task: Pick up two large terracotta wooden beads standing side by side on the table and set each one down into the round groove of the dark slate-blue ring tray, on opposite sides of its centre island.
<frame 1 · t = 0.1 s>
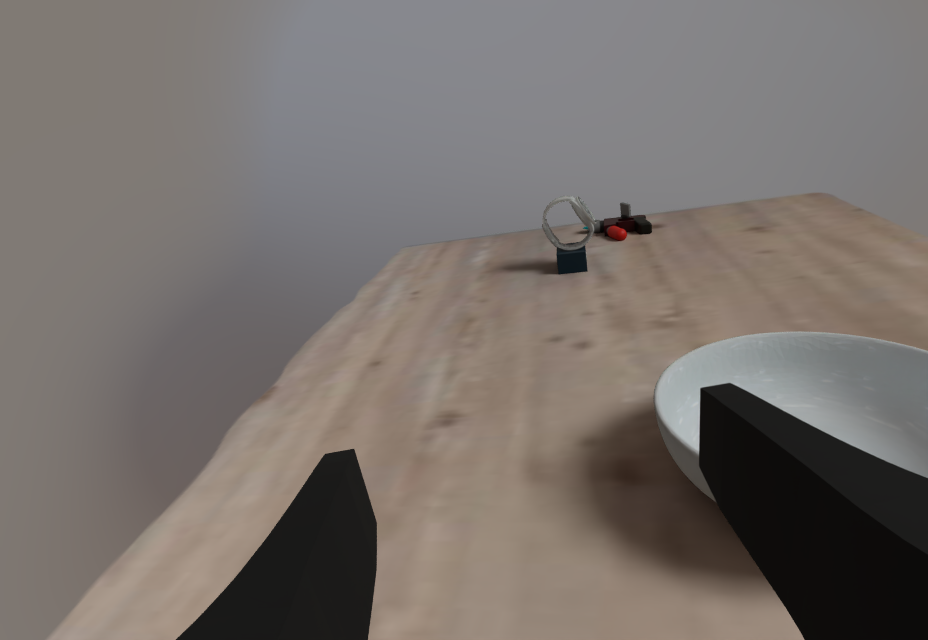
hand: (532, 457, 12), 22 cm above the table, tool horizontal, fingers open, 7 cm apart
toy gun: (616, 237, 105), on the table
serving bowl: (816, 483, 40), on the table
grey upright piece: (573, 268, 92), on the table
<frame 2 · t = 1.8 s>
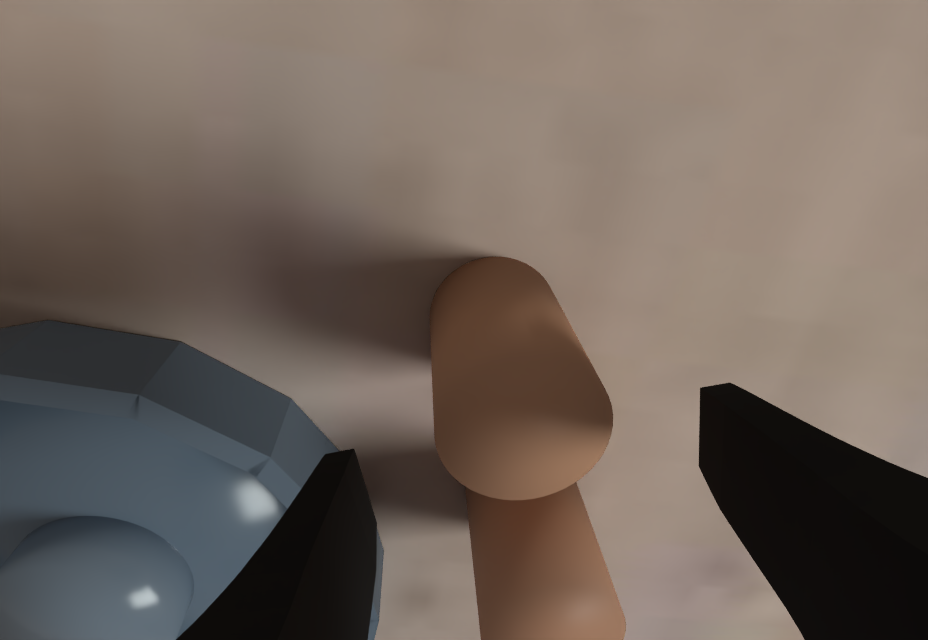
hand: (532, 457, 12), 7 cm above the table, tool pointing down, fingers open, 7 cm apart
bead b: (519, 486, 21), on the table
bead a: (493, 317, 18), on the table
ring tray: (118, 558, 22), on the table
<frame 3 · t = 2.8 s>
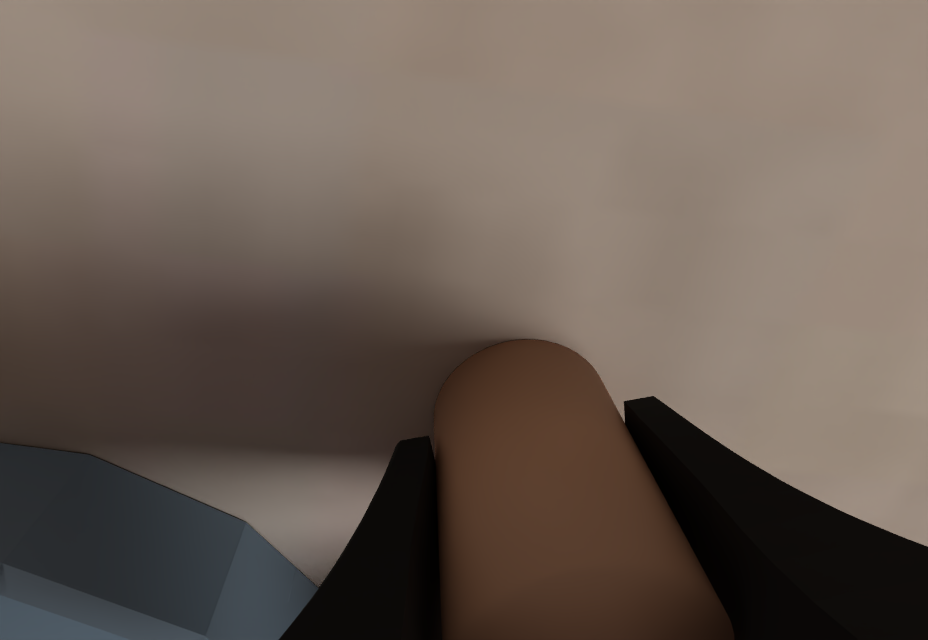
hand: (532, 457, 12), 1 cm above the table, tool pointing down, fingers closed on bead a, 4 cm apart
bead a: (521, 417, 13), on the table, touching gripper
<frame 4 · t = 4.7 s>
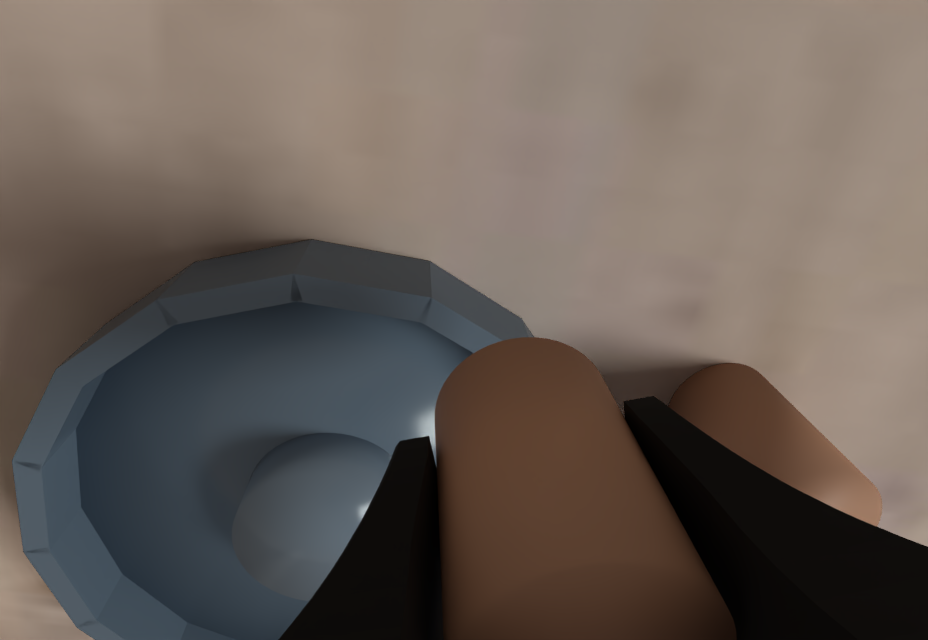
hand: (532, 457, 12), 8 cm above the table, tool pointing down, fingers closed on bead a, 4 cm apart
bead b: (718, 408, 22), on the table
bead a: (522, 414, 13), point 7 cm above the table, touching gripper
ring tray: (334, 480, 23), on the table
when the fingers open (4 cm above the table, at t = 6.4 s): bead a drops 1 cm, resting on ring tray.
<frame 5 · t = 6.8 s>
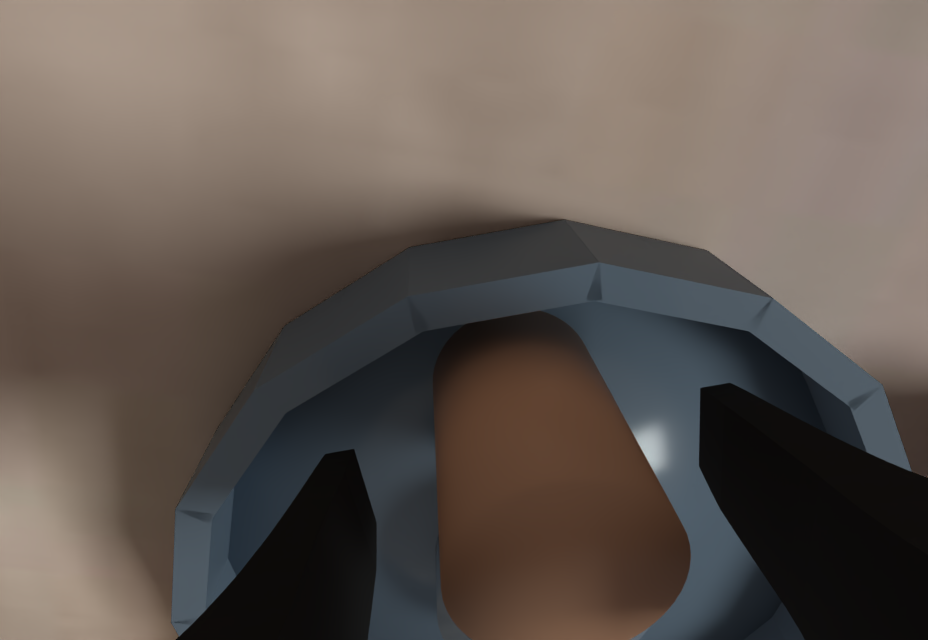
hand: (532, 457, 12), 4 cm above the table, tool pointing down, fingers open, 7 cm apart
bead a: (512, 380, 15), point 1 cm above the table, touching ring tray
ring tray: (530, 523, 18), on the table
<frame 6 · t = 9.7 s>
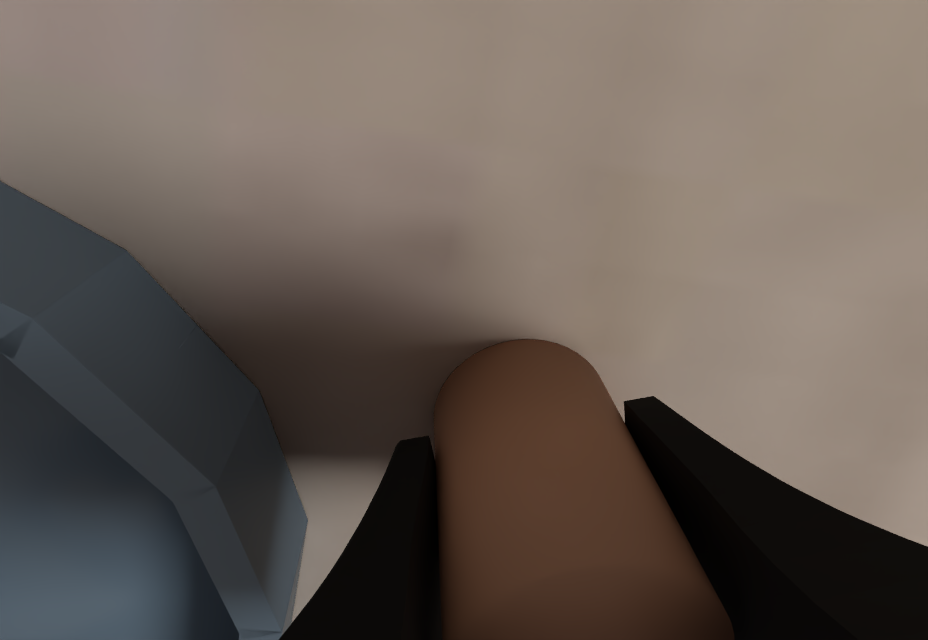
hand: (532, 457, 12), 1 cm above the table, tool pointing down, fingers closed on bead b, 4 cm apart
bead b: (521, 416, 13), on the table, touching gripper
when the fingers open (4 cm above the table, at t = 13.3 s): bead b drops 1 cm, resting on ring tray.
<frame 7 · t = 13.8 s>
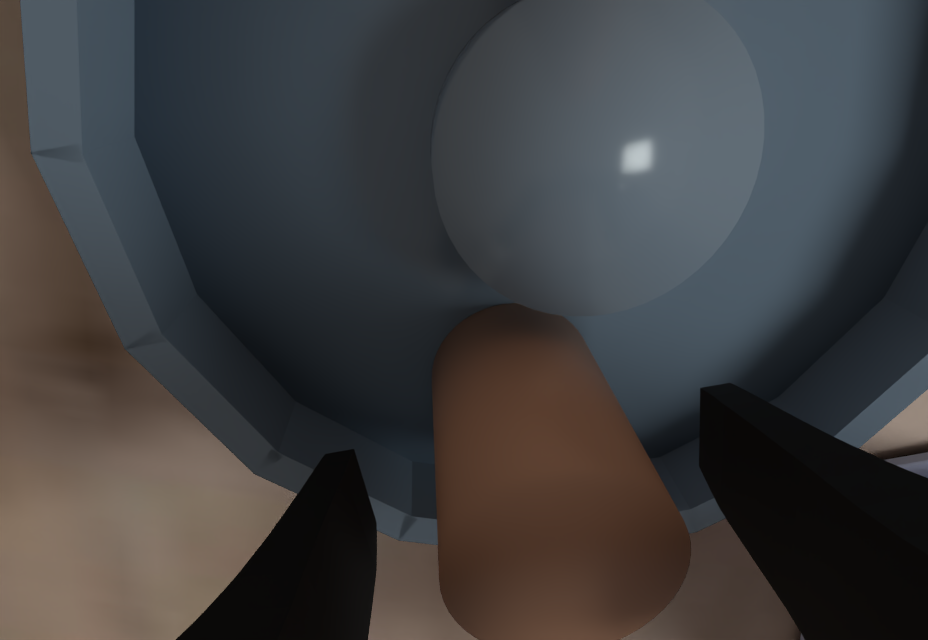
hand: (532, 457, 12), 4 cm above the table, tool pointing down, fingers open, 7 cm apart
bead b: (511, 376, 15), point 1 cm above the table, touching ring tray
ring tray: (562, 140, 13), on the table
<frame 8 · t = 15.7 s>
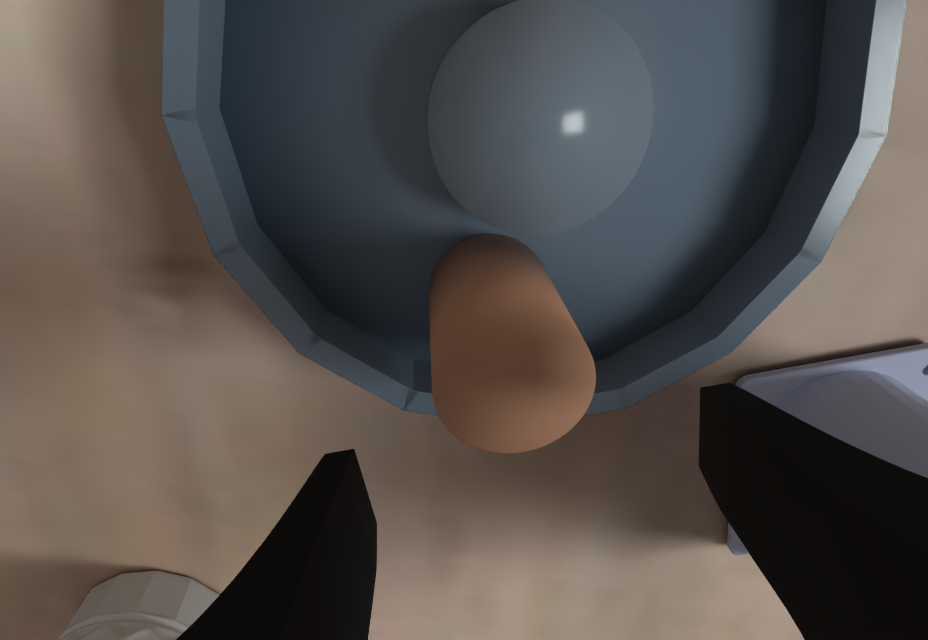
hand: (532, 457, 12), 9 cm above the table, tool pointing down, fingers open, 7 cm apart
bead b: (488, 291, 20), point 1 cm above the table, touching ring tray
ring tray: (523, 113, 18), on the table
grey cup: (162, 617, 27), on the table
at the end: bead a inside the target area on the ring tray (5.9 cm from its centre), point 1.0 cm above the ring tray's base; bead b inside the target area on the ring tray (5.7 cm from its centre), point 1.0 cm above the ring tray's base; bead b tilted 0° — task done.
